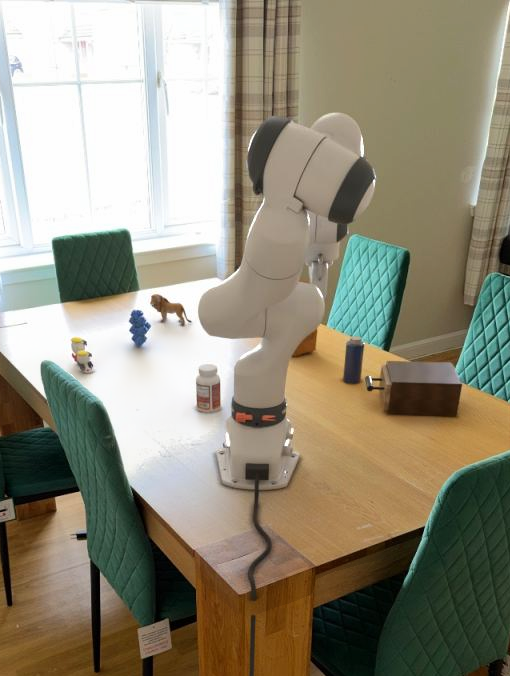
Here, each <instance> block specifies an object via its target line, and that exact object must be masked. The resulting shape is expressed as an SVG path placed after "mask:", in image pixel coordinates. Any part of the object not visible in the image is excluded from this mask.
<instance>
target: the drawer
mask: <svg viewBox="0 0 510 676" xmlns="http://www.w3.org/2000/svg"><path fill="white" fill-rule="evenodd" d="M364 380H365V387H366V391H367V392H372V391H373V390H378V392H379V396H380V397H379V398H380V401H381V404H382V405H381V406H382V410H383V411H387V410H388V408H389V400H390V393H391V380H390V377H389V374H388V370H387V366H386V364H381V369H380V376H379V377H371V376H370V375H365V377H364ZM373 382H379V384H378V385H379V386H374V383H373Z"/></svg>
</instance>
